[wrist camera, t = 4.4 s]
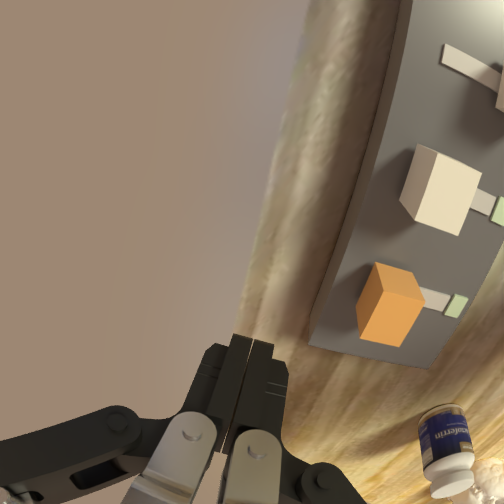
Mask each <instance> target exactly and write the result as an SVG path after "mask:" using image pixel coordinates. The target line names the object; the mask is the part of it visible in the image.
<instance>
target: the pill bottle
mask: <svg viewBox="0 0 504 504" xmlns="http://www.w3.org/2000/svg"><path fill="white" fill-rule="evenodd" d="M418 432H419V439H420V446H421V454H422V463H423V472H424V476H425V478H426V479H427V480H428V481H431V482H432V484H431V486H430V493H431V497H432V498H446V497H450V496H453V495H456V494H459V493H461V492H463V491H465V490H467V489H468V488H470V487H471V486H472V485H473V484H474V475H473V472H472V471H471V470H470V468H471V466H472V465H473V463H474V459H475V457H474V451H473V447H472V442H471V438H470V434H469V430H468V426H467V422H466V418H465V415H464V411H463V409H462V407H461V406H459V405H457V404H445V405H442V406H438V407H436V408H434V409H432V410H430V411H428V412H427V413H426V414H424V415H423V416H422V418H421V419H420V421H419V423H418Z"/></svg>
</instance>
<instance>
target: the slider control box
mask: <svg viewBox="0 0 504 504" xmlns="http://www.w3.org/2000/svg"><path fill="white" fill-rule="evenodd" d="M503 64H504V0H401V2H400V7H399V13H398V18H397V24H396V29H395V34H394V39H393V44H392V48H391V53H390V58H389V62H388V67H387V71H386V75H385V80H384V84H383V88H382V92H381V96H380V100H379V104H378V108H377V112H376V116H375V119H374V123H373V127H372V130H371V134H370V138H369V141H368V145H367V148H366V152H365V155H364V159H363V162H362V166H361V169H360V172H359V176H358V179H357V182H356V185H355V188H354V192H353V195H352V198H351V201H350V204H349V207H348V210H347V213H346V216H345V220H344V223H343V225H342V228H341V231H340V234H339V237H338V240H337V243H336V246H335V249H334V252H333V254H332V257H331V260H330V263H329V266H328V268H327V271H326V274H325V276H324V279H323V282H322V285H321V287H320V290H319V292H318V295H317V298H316V300H315V303H314V305H313V308H312V311H311V313H310V321H309V335H308V345H311V346H315V347H319V348H323V349H327V350H332V351H336V352H341V353H345V354H350V355H354V356H359V357H364V358H369V359H374V360H379V361H384V362H389V363H394V364H399V365H405V366H410V367H416V368H422V369H429V367H430V366H431V364H432V363H433V362H434V360H435V359H436V357H437V356H438V355H439V353H440V352H441V350H442V349H443V347H444V346H445V344H446V343H447V342H448V340H449V339H450V337H451V335H452V334H453V332H454V331H455V329H456V328H457V326H458V325H459V323H460V321H461V320H462V318H463V317H464V315H465V313H466V312H467V310H468V308H469V306H470V305H471V303H472V301H473V300H474V298H475V296H476V294H477V292H478V291H479V289H480V287H481V285H482V283H483V281H484V280H485V278H486V276H487V274H488V272H489V270H490V268H491V266H492V264H493V262H494V260H495V258H496V256H497V254H498V252H499V249H500V247H501V245H502V243H503V241H504V112H502V111H500V110H499V109H497V108H495V106H496V102H497V97H498V92H499V87H500V82H501V76H502V70H503ZM417 143H418V144H420V145H423V146H425V147H428V148H430V149H432V150H435V151H437V152H439V153H442V154H444V155H446V156H449V157H451V158H453V159H455V160H458V161H460V162H462V163H464V164H465V165H467V166H469V167H471V168H473V169H475V170H477V171H479V172H481V173H482V175H481V178H480V180H479V183H478V186H477V189H476V192H475V195H474V197H473V200H472V203H471V205H470V208H469V210H468V213H467V215H466V218H465V220H464V223H463V225H462V228H461V230H460V232H459V235H458V236H456V235H454V234H451V233H448V232H446V231H443V230H440V229H437V228H435V227H432V226H429V225H426V224H423V223H420V222H418V221H415V220H414V219H413V218H412V217H411V215H410V214H409V213H408V211H407V210H406V209H405V207H404V206H403V205H402V203H401V202H400V201H399V199H400V196H401V193H402V190H403V187H404V184H405V181H406V178H407V175H408V172H409V169H410V166H411V163H412V160H413V156H414V153H415V150H416V146H417ZM375 262H378V263H381V264H385V265H388V266H392V267H395V268H398V269H402V270H405V271H409V272H412V273H413V275H414V277H415V279H416V281H417V283H418V286H419V288H420V290H421V292H422V295H423V297H424V299H425V304H424V306H423V308H422V309H421V311H420V313H419V315H418V316H417V318H416V320H415V322H414V323H413V325H412V327H411V328H410V330H409V332H408V333H407V335H406V337H405V338H404V340H403V342H402V343H401V345H400V346H399V347H396V346H392V345H387V344H382V343H378V342H373V341H369V340H364V339H360V338H359V329H358V321H357V313H356V304H357V302H358V300H359V298H360V295H361V293H362V291H363V289H364V287H365V284H366V282H367V280H368V277H369V275H370V273H371V270H372V268H373V266H374V263H375Z"/></svg>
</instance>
